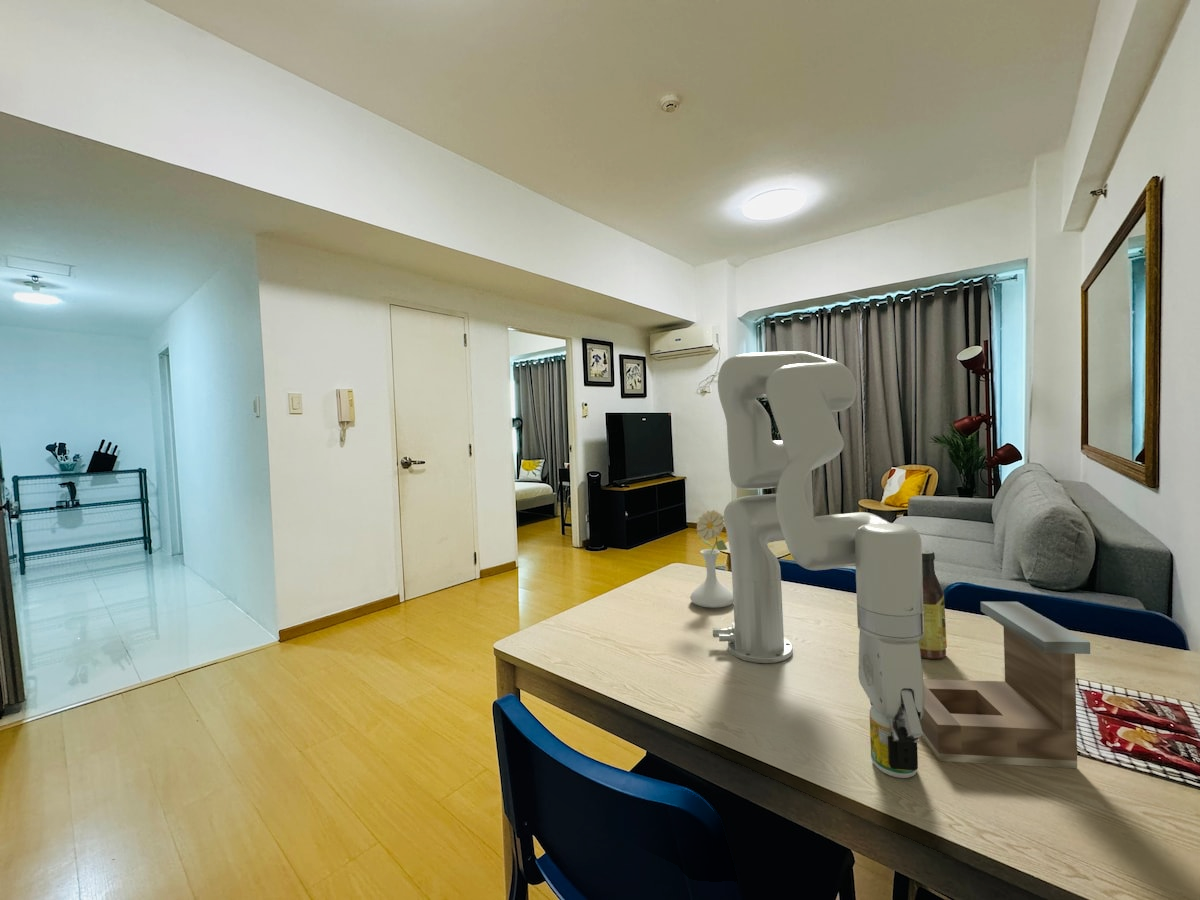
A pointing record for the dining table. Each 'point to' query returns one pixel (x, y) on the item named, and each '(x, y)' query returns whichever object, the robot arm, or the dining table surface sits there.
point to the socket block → (1011, 699)
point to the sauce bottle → (932, 611)
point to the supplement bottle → (884, 744)
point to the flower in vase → (711, 564)
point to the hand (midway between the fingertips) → (893, 750)
